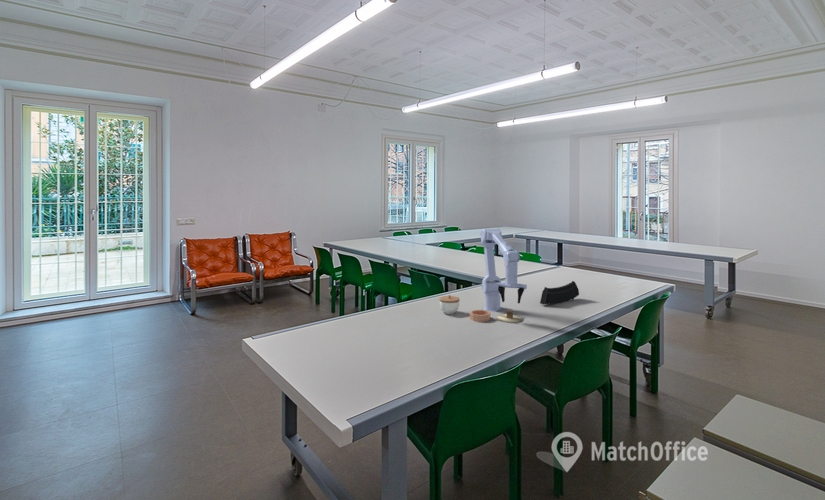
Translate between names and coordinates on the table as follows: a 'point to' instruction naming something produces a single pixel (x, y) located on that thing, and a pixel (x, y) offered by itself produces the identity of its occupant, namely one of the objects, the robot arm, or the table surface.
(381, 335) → the table surface
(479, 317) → the dish
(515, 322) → the mat
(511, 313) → the lid
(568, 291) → the magazine
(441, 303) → the lidded jar
